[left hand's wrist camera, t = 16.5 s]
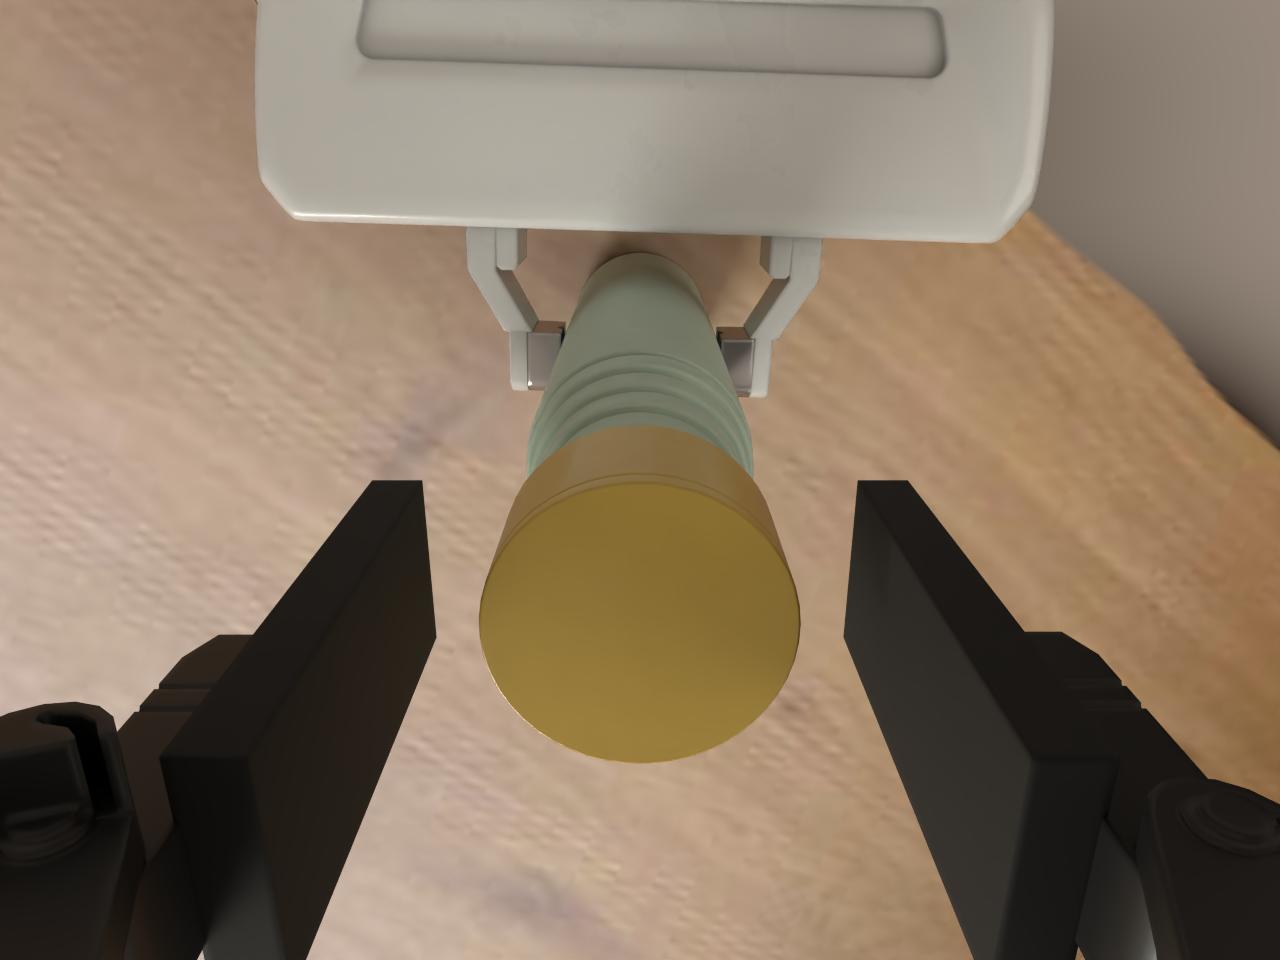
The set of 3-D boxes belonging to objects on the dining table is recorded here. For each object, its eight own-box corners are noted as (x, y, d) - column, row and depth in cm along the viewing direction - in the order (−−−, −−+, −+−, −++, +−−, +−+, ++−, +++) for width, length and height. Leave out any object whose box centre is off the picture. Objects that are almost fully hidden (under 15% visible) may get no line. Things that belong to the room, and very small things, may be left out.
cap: (508, 412, 14) (482, 467, 11) (794, 436, 14) (823, 495, 11) (500, 660, 15) (474, 753, 13) (757, 679, 15) (776, 775, 13)
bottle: (728, 297, 33) (872, 566, 12) (659, 401, 34) (687, 797, 14) (620, 226, 32) (583, 391, 11) (553, 336, 33) (415, 655, 13)
